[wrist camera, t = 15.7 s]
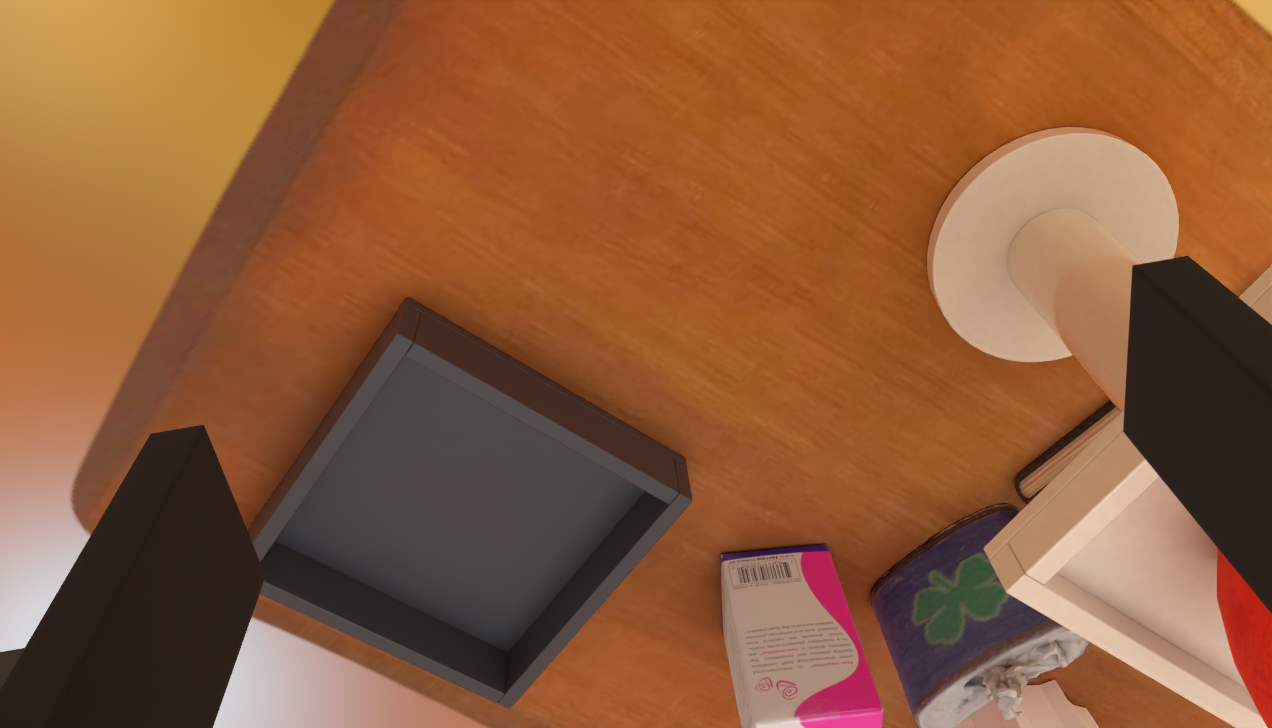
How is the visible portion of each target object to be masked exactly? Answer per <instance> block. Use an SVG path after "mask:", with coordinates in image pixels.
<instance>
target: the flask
mask: <svg viewBox="0 0 1272 728" xmlns="http://www.w3.org/2000/svg"><path fill="white" fill-rule="evenodd" d="M1018 512H1019V511H1017V509H1016V508H1015V507H1013V506H1010V505H1008V504H1004V505H994V506H992V507H990V508H986V509H983V510H981V511H978V512H977V513H975V514H973V515H971V516H970V517H967V518H965V519H962V520H960V521H959V522H958V523H957V524H955V525H952V526H949V527H948V528H946V529H945V530H942V532H941V533H940V534H938V535H937V536H934V537H933V538H932V539H930V541H929V542H928V543H926V545H923V546H921V547H920V548H918V549H917V550H916V551H914V552H913V553H911V554H910V555H909V556H908V557H906V558H904V560H903V561H901V562H900V563H899V564H897V565H896V567H893V568H892V570H890V571H889V572H887V573H885V575H883V577H882V578H881V579H880V580H879V582H878V583H877V584H876V586H875V587H873V588H874V589H873V590H872V591H871V597H872V598H871V604H872V607H873V610H874V612H875V614H876V617H877V620H878V622H879V624H880V626H881V630H882V632H883V635H884V638H885V640H886V643H887V645H888V648H889V651H890V654H891V656H892V659H893V662H894V665H895V667H896V669H897V672H898V675H899V678H900V680H901V683H902V685H903V688H904V691H905V693H906V697H907V700H908V702H909V705H910V707H911V711H912V714H913V716H914V718H915V722H916V723H917V725H918V726H919V728H956V727H957V726H959V725H960V724H961V723H962V722H963V721H964V720H966V719H967V718H969V717H970V716H972V715H973V714H974V713H975V712H976V711H977V710H979V709H981V708H982V707H984V706H985V705H987V704H989V703H990V702H991V701H992V700H994V699H995V703H996V705H997V707H998V708H1000V709H1002V710H1003V711H1002V713H1001V717H1002V718H1003V719H1006V720H1009V719H1011V718H1014V717H1019V718H1020V717H1021V716H1022V715H1023V712H1022V711H1020V712H1015V711H1014V710H1013V708H1014V707H1017V706H1019V705H1021V704H1022V702H1021V700H1022V699H1024V698H1022V697H1020V696H1019V695H1020V694H1021V693H1022V691H1023V689H1024V688H1026V686H1027V684H1028V681H1029V679H1031V678H1036V677H1037V676H1038V675H1039V674H1041V673H1043V672H1046V671H1050V670H1053V669H1055V668H1056V667H1062V668H1065V667H1067V665H1068V664H1070V663H1072V661H1073V660H1075V659H1077V658H1079V657H1080V656H1081V655H1082V654H1083V653H1084V652H1085V648H1086V647H1087V646H1088V645H1089V641H1088V640H1086V639H1084V638H1083V637H1081V636H1079V635H1077V634H1076V633H1074V632H1072V631H1071V630H1069V629H1067V628H1066V627H1064V626H1062V625H1061V624H1059V623H1057V622H1055V621H1054V620H1052V619H1050V618H1049V617H1047V616H1045V615H1044V614H1042V613H1040V612H1038V611H1037V610H1035V609H1033V608H1032V607H1030V606H1028V605H1027V604H1025V603H1023V602H1021V601H1020V600H1018V599H1016V598H1015V597H1013V596H1011V595H1010V594H1008V593H1006V591H1005V589H1004V587H1003V586H1002V584H1001V582H1000V580H999V578H998V576H997V574H996V572H995V570H994V568H993V567H992V565H991V563H990V560H989V558H988V556H987V555H986V553H985V551H984V547H985V546H986V545H987V544H988V543H989V542H990V541H991V540H992V539H993V538H994V537H995V536H996V535H997V534H998V533H999V532H1000V531H1001V530H1002V529H1003V528H1004V527H1005V526H1006V525H1007V524H1008V523H1009V522H1010V521H1011V520H1012V519H1013V518H1014V517H1015V516H1016V515H1017V514H1018Z"/></svg>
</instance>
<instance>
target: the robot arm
mask: <svg viewBox="0 0 1272 728" xmlns="http://www.w3.org/2000/svg"><path fill="white" fill-rule="evenodd" d="M1123 432H1124V434H1125V435H1126V436H1127V437H1128V438H1129V440H1130V441H1131V442H1132V443H1133V445H1134V446H1135V447H1136V448H1137V449H1138V451H1139V452H1140V453H1141V454H1142V456H1143V457H1144V458H1145V459H1146V461H1147V462H1148V463H1149V464H1150V465H1151V467H1152V468H1153V469H1154V470H1155V472H1156V473H1157V474H1158V475H1159V476H1160V478H1161V479H1162V480H1163V481H1164V483H1165V484H1166V485H1167V486H1168V487H1169V489H1170V490H1171V491H1172V492H1173V494H1174V495H1175V496H1176V497H1177V499H1178V500H1179V501H1180V502H1181V503H1182V505H1183V506H1184V507H1185V508H1186V510H1187V511H1188V512H1189V513H1190V514H1191V516H1192V517H1193V518H1194V519H1195V521H1196V522H1197V523H1198V524H1199V525H1200V527H1201V528H1202V529H1203V530H1204V532H1205V533H1206V534H1207V535H1208V537H1209V538H1210V539H1211V540H1212V541H1213V543H1214V544H1215V545H1216V546H1217V548H1218V549H1219V550H1220V551H1221V552H1222V554H1223V555H1224V556H1225V557H1226V559H1227V560H1228V561H1229V562H1230V563H1231V565H1232V566H1233V567H1234V568H1235V570H1236V571H1237V572H1238V573H1239V575H1240V576H1241V577H1242V578H1243V579H1244V581H1245V582H1246V583H1247V584H1248V586H1249V587H1250V588H1251V589H1252V590H1253V592H1254V593H1255V594H1256V595H1257V597H1258V598H1259V599H1260V600H1261V601H1262V603H1263V604H1264V605H1265V606H1266V608H1267V609H1268V610H1269V611H1270V613H1271V614H1272V325H1271V324H1270V323H1269V322H1268V321H1267V320H1265V319H1264V318H1263V317H1262V316H1260V315H1259V314H1258V313H1257V312H1256V311H1254V310H1253V309H1252V308H1251V307H1249V306H1248V305H1247V304H1246V303H1245V302H1243V301H1242V300H1241V299H1240V298H1239V297H1237V296H1236V295H1235V294H1234V293H1232V292H1231V291H1230V290H1229V289H1228V288H1226V287H1225V286H1224V285H1223V284H1221V283H1220V282H1219V281H1218V280H1217V279H1215V278H1214V277H1213V276H1212V275H1210V274H1209V273H1208V272H1207V271H1206V270H1204V269H1203V268H1202V267H1201V266H1200V265H1198V264H1197V263H1196V262H1195V261H1193V260H1192V259H1191V258H1190V257H1189V256H1184V257H1178V258H1173V259H1167V260H1161V261H1155V262H1149V263H1143V264H1138V265H1132V281H1131V299H1130V317H1129V335H1128V352H1127V370H1126V388H1125V406H1124V424H1123ZM265 577H266V575H265V573H264V570H263V568H262V565H261V563H260V560H259V558H258V556H257V553H256V551H255V548H254V546H253V543H252V541H251V539H250V536H249V534H248V531H247V529H246V526H245V524H244V522H243V519H242V517H241V514H240V512H239V509H238V507H237V504H236V502H235V500H234V497H233V495H232V492H231V490H230V487H229V485H228V483H227V480H226V478H225V475H224V473H223V470H222V468H221V466H220V463H219V461H218V458H217V456H216V453H215V451H214V449H213V446H212V444H211V441H210V439H209V436H208V434H207V432H206V429H205V427H204V425H200V426H194V427H188V428H182V429H176V430H171V431H165V432H159V433H153V434H150V436H149V438H148V439H147V441H146V443H145V445H144V446H143V448H142V450H141V451H140V453H139V455H138V456H137V458H136V460H135V462H134V463H133V465H132V467H131V468H130V470H129V472H128V473H127V475H126V477H125V479H124V480H123V482H122V484H121V485H120V487H119V489H118V490H117V492H116V494H115V496H114V497H113V499H112V501H111V502H110V504H109V506H108V507H107V509H106V511H105V513H104V514H103V516H102V518H101V519H100V521H99V523H98V525H97V526H96V528H95V530H94V531H93V533H92V535H91V536H90V538H89V540H88V542H87V543H86V545H85V547H84V548H83V550H82V552H81V553H80V555H79V557H78V559H77V560H76V562H75V564H74V565H73V567H72V569H71V571H70V572H69V574H68V576H67V577H66V579H65V581H64V582H63V584H62V586H61V588H60V589H59V591H58V593H57V594H56V596H55V598H54V600H53V601H52V603H51V605H50V606H49V608H48V610H47V611H46V613H45V615H44V617H43V618H42V620H41V622H40V623H39V625H38V627H37V629H36V630H35V632H34V633H33V635H32V637H31V639H30V640H29V642H28V644H27V645H26V647H25V648H23V649H17V650H11V651H5V652H0V728H213V725H214V722H215V719H216V717H217V714H218V711H219V707H220V705H221V702H222V699H223V696H224V693H225V691H226V688H227V685H228V682H229V679H230V676H231V674H232V671H233V668H234V665H235V662H236V659H237V657H238V654H239V651H240V648H241V645H242V642H243V639H244V637H245V634H246V631H247V628H248V625H249V622H250V619H251V617H252V614H253V611H254V608H255V605H256V602H257V599H258V597H259V594H260V591H261V588H262V585H263V582H264V579H265Z"/></svg>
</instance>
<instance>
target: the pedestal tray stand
mask: <svg viewBox="0 0 1272 728" xmlns="http://www.w3.org/2000/svg"><path fill="white" fill-rule="evenodd" d="M1178 233H1179V216H1178V210H1177V203H1176V199H1175V196H1174V193H1173V190H1172V188H1171V186H1170V184H1169V182H1168V180H1167V178H1166V176H1165V175H1164V173H1163V172H1162V171H1161V169H1160V168H1159V167H1158V165H1157V164H1156V163H1155V162H1154V161H1153V160H1152V159H1151V158H1150V157H1149V156H1148V155H1146V154H1145V153H1144V152H1142V151H1141V150H1139V149H1138V148H1137V147H1135V146H1134V145H1132V144H1131V143H1129V142H1128V141H1126V140H1124V139H1122V138H1120V137H1118V136H1116V135H1114V134H1111V133H1108V132H1104V131H1101V130H1098V129H1091V128H1084V127H1061V128H1053V129H1047V130H1043V131H1039V132H1035V133H1031V134H1028V135H1026V136H1023V137H1020V138H1018V139H1015V140H1013V141H1011V142H1009V143H1007V144H1005V145H1003V146H1001V147H999V148H998V149H996V150H995V151H993V152H992V153H990V154H989V155H987V156H986V157H984V158H983V159H982V160H981V161H980V162H978V163H977V164H976V165H975V166H974V167H972V168H971V169H970V170H969V171H968V172H967V173H966V175H965V176H964V177H963V178H962V179H961V180H960V181H959V182H958V183H957V185H956V186H955V187H954V189H953V190H952V191H951V193H950V194H949V195H948V197H947V199H946V200H945V202H944V204H943V206H942V207H941V209H940V211H939V214H938V216H937V218H936V220H935V223H934V226H933V229H932V232H931V236H930V239H929V246H928V252H927V272H928V280H929V285H930V288H931V292H932V295H933V297H934V300H935V302H936V304H937V306H938V308H939V310H940V311H941V313H942V314H943V316H944V317H945V319H946V320H947V322H948V323H949V325H950V326H951V327H952V328H953V329H954V331H955V332H956V333H957V334H958V335H959V336H960V337H961V338H963V339H964V340H965V341H966V342H968V343H969V344H970V345H972V346H973V347H975V348H977V349H979V350H980V351H982V352H984V353H987V354H989V355H992V356H995V357H998V358H1002V359H1006V360H1011V361H1019V362H1044V361H1052V360H1057V359H1062V358H1066V357H1070V356H1074V357H1075V358H1076V360H1077V361H1078V362H1079V363H1080V364H1081V366H1082V367H1083V368H1084V369H1085V370H1086V372H1087V373H1088V374H1089V375H1090V376H1091V378H1092V379H1093V380H1094V381H1095V382H1096V383H1097V385H1098V386H1099V387H1100V388H1101V389H1102V391H1103V392H1104V393H1105V394H1106V395H1107V397H1108V398H1109V399H1110V400H1111V401H1112V403H1113V404H1114V405H1115V406H1116V407H1117V409H1118V410H1119V411H1120V412H1121V413H1120V414H1119V415H1118V416H1117V417H1116V418H1115V419H1114V420H1113V421H1112V422H1111V423H1110V424H1109V425H1108V426H1107V427H1106V428H1105V429H1104V430H1103V431H1102V432H1101V433H1100V434H1099V435H1098V436H1097V437H1096V438H1095V439H1094V440H1093V441H1092V442H1091V443H1090V444H1089V445H1088V446H1087V447H1086V448H1085V449H1084V450H1083V451H1082V452H1081V453H1079V454H1078V455H1077V456H1076V457H1075V458H1074V459H1073V460H1072V461H1071V462H1070V463H1069V464H1068V465H1067V466H1066V467H1065V468H1064V469H1063V470H1062V471H1061V472H1060V473H1059V474H1058V475H1057V476H1056V477H1055V478H1054V479H1053V480H1052V481H1051V482H1050V483H1049V484H1048V485H1047V486H1046V487H1045V488H1044V489H1043V490H1042V491H1041V492H1040V493H1039V494H1038V495H1037V496H1036V497H1035V498H1034V499H1033V500H1032V501H1031V502H1030V503H1029V504H1027V505H1026V506H1025V507H1024V508H1023V509H1022V510H1021V511H1020V512H1019V513H1018V514H1017V515H1016V516H1015V517H1014V518H1013V519H1012V520H1011V521H1010V522H1009V523H1008V524H1007V525H1006V526H1005V527H1004V528H1003V529H1002V530H1001V531H1000V532H999V533H998V534H997V535H996V536H995V537H994V538H993V539H992V540H991V541H990V542H989V543H988V544H987V545H986V546H985V547H984V551H985V553H986V555H987V556H988V558H989V560H990V563H991V565H992V567H993V568H994V570H995V572H996V574H997V576H998V578H999V580H1000V582H1001V584H1002V586H1003V587H1004V589H1005V591H1006V593H1008V594H1010V595H1011V596H1013V597H1015V598H1016V599H1018V600H1020V601H1021V602H1023V603H1025V604H1027V605H1028V606H1030V607H1032V608H1033V609H1035V610H1037V611H1038V612H1040V613H1042V614H1044V615H1045V616H1047V617H1049V618H1050V619H1052V620H1054V621H1055V622H1057V623H1059V624H1061V625H1062V626H1064V627H1066V628H1067V629H1069V630H1071V631H1072V632H1074V633H1076V634H1077V635H1079V636H1081V637H1083V638H1084V639H1086V640H1088V641H1089V642H1091V643H1093V644H1094V645H1096V646H1098V647H1100V648H1101V649H1103V650H1105V651H1106V652H1108V653H1110V654H1111V655H1113V656H1115V657H1117V658H1118V659H1120V660H1122V661H1123V662H1125V663H1127V664H1128V665H1130V666H1132V667H1133V668H1135V669H1137V670H1139V671H1140V672H1142V673H1144V674H1145V675H1147V676H1149V677H1150V678H1152V679H1154V680H1156V681H1157V682H1159V683H1161V684H1162V685H1164V686H1166V687H1167V688H1169V689H1171V690H1173V691H1174V692H1176V693H1178V694H1179V695H1181V696H1183V697H1184V698H1186V699H1188V700H1190V701H1191V702H1193V703H1195V704H1196V705H1198V706H1200V707H1201V708H1203V709H1205V710H1206V711H1208V712H1210V713H1212V714H1213V715H1215V716H1217V717H1218V718H1220V719H1222V720H1223V721H1225V722H1227V723H1229V724H1230V725H1232V726H1234V727H1235V728H1267V726H1266V724H1265V722H1264V721H1263V719H1262V717H1261V715H1260V713H1259V712H1258V710H1257V708H1256V706H1255V704H1254V702H1253V700H1252V698H1251V696H1250V694H1249V692H1248V690H1247V688H1246V686H1245V684H1244V682H1243V680H1242V678H1241V676H1240V674H1239V672H1238V670H1237V668H1236V666H1235V663H1234V660H1233V657H1232V653H1231V650H1230V647H1229V643H1228V639H1227V635H1226V631H1225V628H1224V624H1223V620H1222V616H1221V612H1220V608H1219V604H1218V600H1217V554H1218V548H1217V546H1216V545H1215V544H1214V543H1213V541H1212V540H1211V539H1210V538H1209V537H1208V535H1207V534H1206V533H1205V532H1204V530H1203V529H1202V528H1201V527H1200V525H1199V524H1198V523H1197V522H1196V521H1195V519H1194V518H1193V517H1192V516H1191V514H1190V513H1189V512H1188V511H1187V510H1186V508H1185V507H1184V506H1183V505H1182V503H1181V502H1180V501H1179V500H1178V499H1177V497H1176V496H1175V495H1174V494H1173V492H1172V491H1171V490H1170V489H1169V487H1168V486H1167V485H1166V484H1165V483H1164V481H1163V480H1162V479H1161V478H1160V476H1159V475H1158V474H1157V473H1156V472H1155V470H1154V469H1153V468H1152V467H1151V465H1150V464H1149V463H1148V462H1147V461H1146V459H1145V458H1144V457H1143V456H1142V454H1141V453H1140V452H1139V451H1138V449H1137V448H1136V447H1135V446H1134V445H1133V443H1132V442H1131V441H1130V440H1129V438H1128V437H1127V436H1126V435H1125V434H1124V432H1123V424H1124V406H1125V388H1126V370H1127V352H1128V335H1129V317H1130V299H1131V281H1132V265H1138V264H1143V263H1149V262H1155V261H1161V260H1167V259H1173V258H1174V255H1175V251H1176V247H1177V241H1178ZM1239 298H1240V299H1241V300H1242V301H1243V302H1245V303H1246V304H1247V305H1248V306H1249V307H1251V308H1252V309H1253V310H1254V311H1256V312H1257V313H1258V314H1259V315H1260V316H1262V317H1263V318H1264V319H1265V320H1267V321H1268V322H1269V323H1270V324H1271V325H1272V265H1271V266H1270V267H1269V268H1268V269H1267V270H1266V271H1265V272H1264V273H1263V274H1262V275H1261V276H1260V277H1259V278H1258V279H1257V280H1256V281H1255V282H1254V283H1253V284H1252V285H1251V286H1250V287H1249V288H1248V289H1247V290H1246V291H1245V292H1244V293H1243V294H1242V295H1241V296H1240V297H1239Z"/></svg>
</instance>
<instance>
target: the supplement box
mask: <svg viewBox="0 0 1272 728" xmlns="http://www.w3.org/2000/svg"><path fill="white" fill-rule="evenodd" d="M721 598H722V629H723V638H724V641H725V646H726V651H727V656H728V661H729V666H730V671H731V676H732V681H733V686H734V692H735V697H736V702H737V707H738V712H739V717H740V722H741V727H742V728H882V723H883V711H884V710H883V706H882V703H881V700H880V697H879V694H878V691H877V688H876V686H875V683H874V680H873V677H872V674H871V672H870V669H869V666H868V662H867V659H866V656H865V653H864V650H863V647H862V645H861V642H860V639H859V636H858V633H857V630H856V627H855V624H854V621H853V618H852V615H851V612H850V609H849V606H848V603H847V600H846V598H845V595H844V592H843V589H842V586H841V583H840V580H839V577H838V574H837V571H836V567H835V565H834V562H833V559H832V556H831V553H830V550H829V548H828V546H827V545H812V546H802V547H791V548H782V549H771V550H760V551H749V552H739V553H727V554H721Z"/></svg>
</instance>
